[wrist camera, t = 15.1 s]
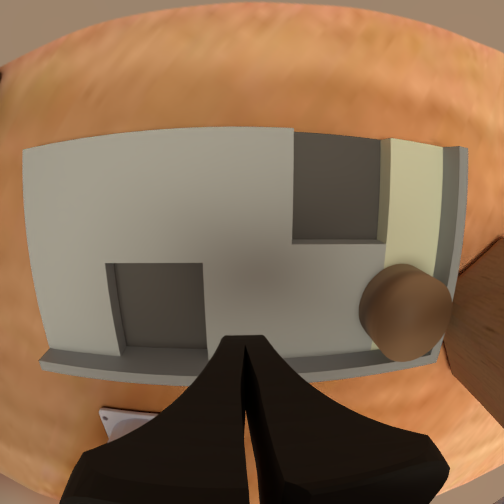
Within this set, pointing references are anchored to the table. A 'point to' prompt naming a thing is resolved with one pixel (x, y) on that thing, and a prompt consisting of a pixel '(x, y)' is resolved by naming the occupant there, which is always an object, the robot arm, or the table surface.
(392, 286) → the puck
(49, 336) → the trap board
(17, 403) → the table surface
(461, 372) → the wooden block
